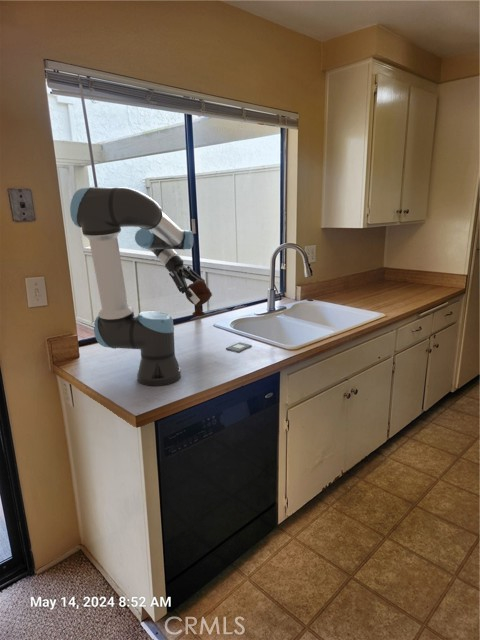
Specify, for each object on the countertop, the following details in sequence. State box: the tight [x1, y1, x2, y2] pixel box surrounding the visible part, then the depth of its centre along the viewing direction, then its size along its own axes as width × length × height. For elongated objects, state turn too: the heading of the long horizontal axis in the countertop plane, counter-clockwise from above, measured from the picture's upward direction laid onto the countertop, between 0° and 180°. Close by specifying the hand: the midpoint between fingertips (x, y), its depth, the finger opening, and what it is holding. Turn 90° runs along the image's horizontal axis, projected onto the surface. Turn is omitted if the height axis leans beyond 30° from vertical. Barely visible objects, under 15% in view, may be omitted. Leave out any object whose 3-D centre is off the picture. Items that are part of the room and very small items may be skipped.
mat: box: [225, 342, 253, 353], centre depth 176 cm, size 10×7×1 cm
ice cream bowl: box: [184, 280, 213, 317], centre depth 172 cm, size 11×11×15 cm
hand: (204, 299), depth 171 cm, fingers closed on ice cream bowl, 11 cm apart
